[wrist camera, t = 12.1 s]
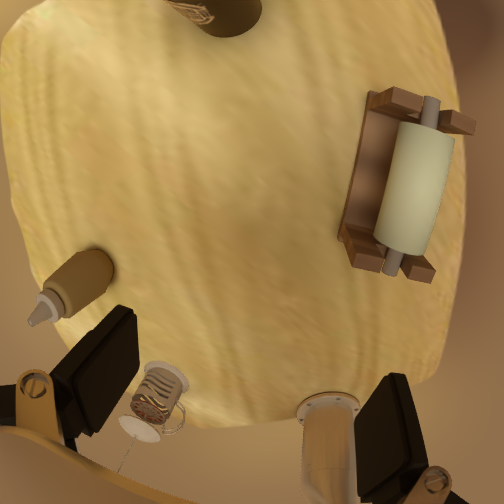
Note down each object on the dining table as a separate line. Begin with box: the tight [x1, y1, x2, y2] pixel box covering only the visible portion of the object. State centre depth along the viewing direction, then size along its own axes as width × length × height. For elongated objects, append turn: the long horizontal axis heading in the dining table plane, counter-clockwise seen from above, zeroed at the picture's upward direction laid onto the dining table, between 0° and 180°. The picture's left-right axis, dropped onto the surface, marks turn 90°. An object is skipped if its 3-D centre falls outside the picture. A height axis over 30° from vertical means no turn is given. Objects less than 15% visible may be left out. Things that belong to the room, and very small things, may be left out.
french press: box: [114, 361, 189, 474], centre depth 42 cm, size 10×12×25 cm
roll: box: [373, 96, 455, 277], centre depth 25 cm, size 19×6×6 cm
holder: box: [337, 86, 476, 284], centre depth 28 cm, size 19×9×11 cm, turn 171°
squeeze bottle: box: [28, 249, 113, 327], centre depth 37 cm, size 8×8×18 cm
